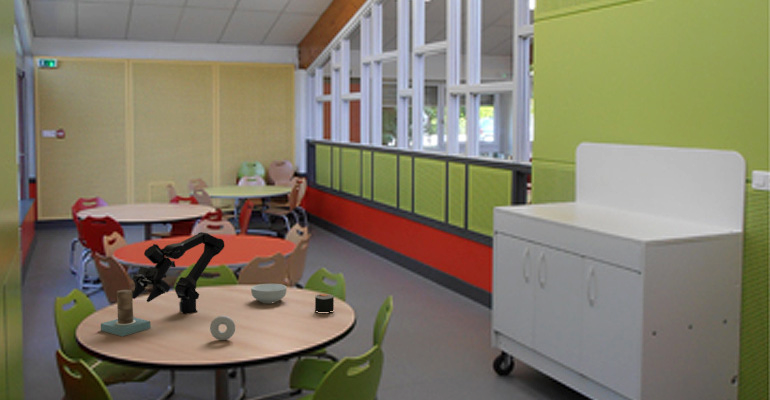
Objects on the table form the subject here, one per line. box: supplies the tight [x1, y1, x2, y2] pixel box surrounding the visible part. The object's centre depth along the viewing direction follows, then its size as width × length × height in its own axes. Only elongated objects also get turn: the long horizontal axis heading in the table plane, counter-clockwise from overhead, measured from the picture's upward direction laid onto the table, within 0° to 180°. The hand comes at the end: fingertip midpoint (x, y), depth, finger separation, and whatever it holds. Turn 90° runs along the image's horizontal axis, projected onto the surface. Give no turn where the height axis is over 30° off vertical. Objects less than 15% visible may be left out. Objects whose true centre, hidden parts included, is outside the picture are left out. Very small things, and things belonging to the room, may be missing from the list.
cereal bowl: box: [250, 283, 287, 304], centre depth 351 cm, size 17×17×7 cm
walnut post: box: [116, 289, 134, 324], centre depth 303 cm, size 6×6×13 cm
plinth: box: [100, 316, 152, 337], centre depth 304 cm, size 14×14×3 cm
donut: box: [209, 315, 236, 341], centre depth 290 cm, size 10×4×10 cm, turn 95°
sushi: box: [314, 292, 335, 312], centre depth 334 cm, size 8×8×8 cm
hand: (140, 300), depth 309 cm, fingers open, 9 cm apart
